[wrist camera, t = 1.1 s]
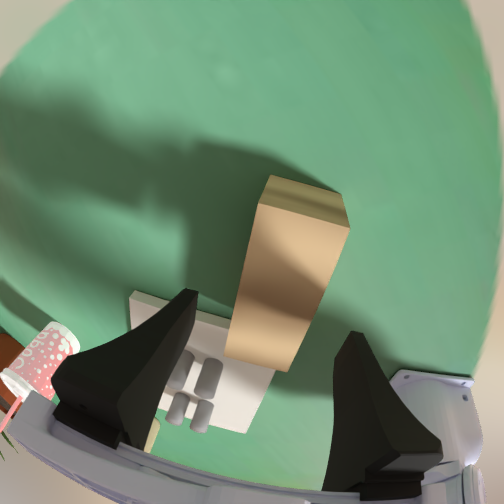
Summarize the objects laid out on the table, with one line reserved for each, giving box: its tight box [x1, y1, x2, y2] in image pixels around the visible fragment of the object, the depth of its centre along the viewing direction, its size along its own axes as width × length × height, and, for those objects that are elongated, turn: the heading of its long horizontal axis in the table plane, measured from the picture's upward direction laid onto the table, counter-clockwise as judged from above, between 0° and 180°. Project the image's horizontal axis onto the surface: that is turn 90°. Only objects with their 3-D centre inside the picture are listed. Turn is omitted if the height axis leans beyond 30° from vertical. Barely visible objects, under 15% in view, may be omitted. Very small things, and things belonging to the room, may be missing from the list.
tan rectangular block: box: [223, 175, 350, 372], centre depth 17 cm, size 10×4×4 cm, turn 168°
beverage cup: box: [0, 321, 80, 432], centre depth 23 cm, size 6×6×14 cm
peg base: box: [129, 290, 276, 433], centre depth 25 cm, size 12×16×4 cm
